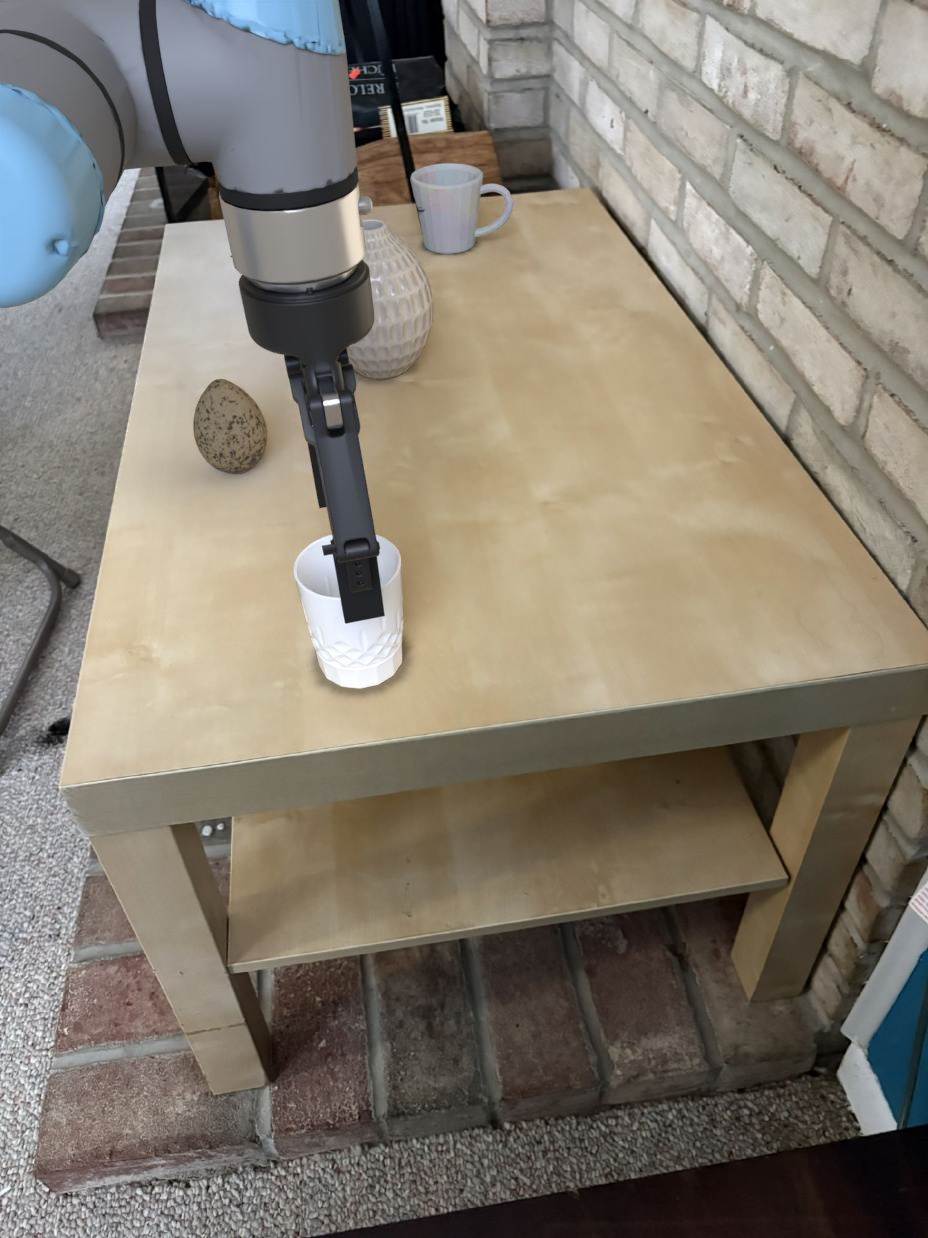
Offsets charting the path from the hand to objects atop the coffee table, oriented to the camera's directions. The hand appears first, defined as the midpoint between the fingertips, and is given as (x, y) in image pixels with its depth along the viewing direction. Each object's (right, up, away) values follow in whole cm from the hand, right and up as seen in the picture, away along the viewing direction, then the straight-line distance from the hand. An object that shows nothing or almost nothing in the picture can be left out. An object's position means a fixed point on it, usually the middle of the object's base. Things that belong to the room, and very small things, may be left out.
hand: (349, 555), depth 67 cm
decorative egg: (-15, +11, +28) cm, 34 cm away
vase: (-1, +26, +43) cm, 50 cm away
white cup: (0, -8, +7) cm, 11 cm away
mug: (+8, +51, +71) cm, 88 cm away
